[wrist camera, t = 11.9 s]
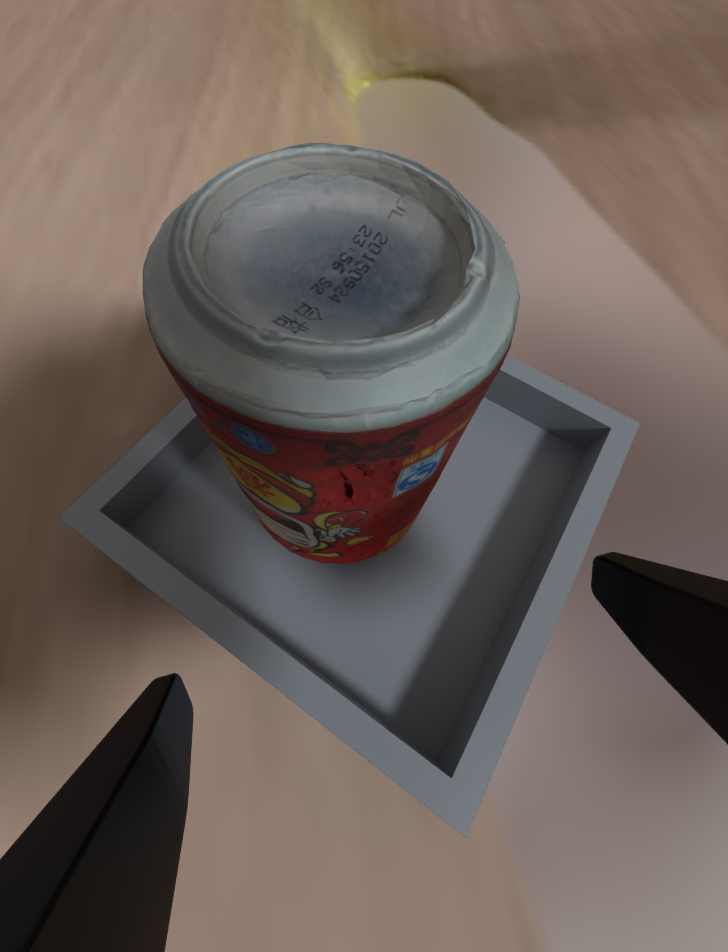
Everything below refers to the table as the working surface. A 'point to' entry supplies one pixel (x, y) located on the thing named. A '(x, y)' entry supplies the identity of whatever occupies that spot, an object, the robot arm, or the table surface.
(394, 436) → the soda can
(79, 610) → the table surface
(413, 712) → the slate tray
